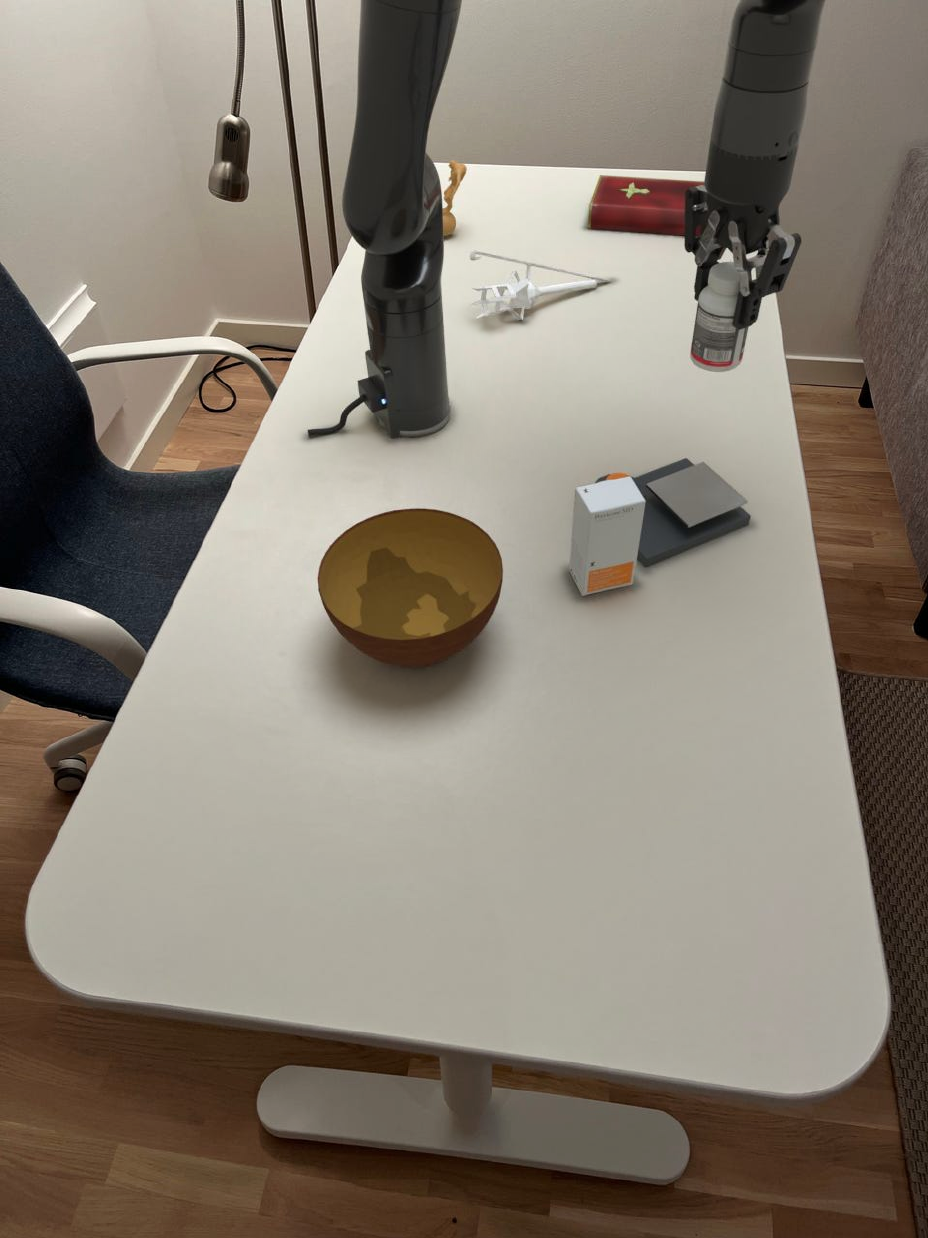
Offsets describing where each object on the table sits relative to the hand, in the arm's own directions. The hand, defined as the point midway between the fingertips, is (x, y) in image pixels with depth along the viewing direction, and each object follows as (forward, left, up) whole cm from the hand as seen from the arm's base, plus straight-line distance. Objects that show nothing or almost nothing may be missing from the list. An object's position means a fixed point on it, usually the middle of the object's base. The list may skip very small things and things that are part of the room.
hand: (723, 311), depth 93 cm
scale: (-6, -3, -23) cm, 23 cm away
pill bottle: (0, 0, -6) cm, 6 cm away
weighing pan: (-3, -4, -20) cm, 20 cm away
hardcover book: (+36, +59, -23) cm, 73 cm away
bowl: (-39, -6, -23) cm, 45 cm away
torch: (+5, +44, -23) cm, 50 cm away
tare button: (-10, +1, -20) cm, 22 cm away
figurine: (+4, +72, -23) cm, 76 cm away
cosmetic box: (-18, -8, -23) cm, 30 cm away
